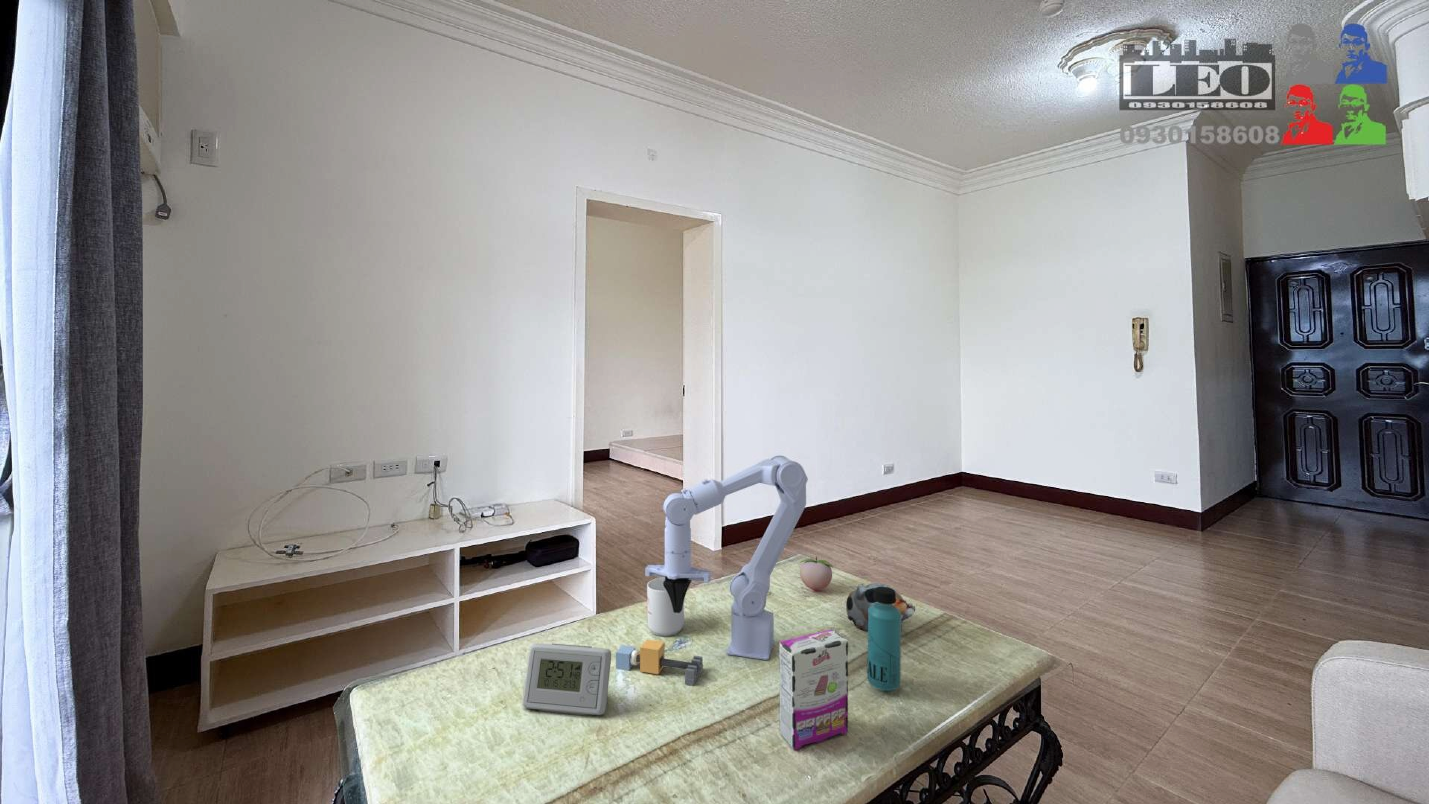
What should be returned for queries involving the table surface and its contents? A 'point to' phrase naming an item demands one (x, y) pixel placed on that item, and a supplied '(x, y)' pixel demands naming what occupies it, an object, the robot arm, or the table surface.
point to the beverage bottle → (884, 641)
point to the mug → (662, 610)
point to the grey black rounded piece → (864, 600)
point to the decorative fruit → (816, 573)
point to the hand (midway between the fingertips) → (677, 610)
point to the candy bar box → (813, 688)
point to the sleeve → (651, 656)
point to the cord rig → (660, 663)
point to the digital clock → (567, 679)
